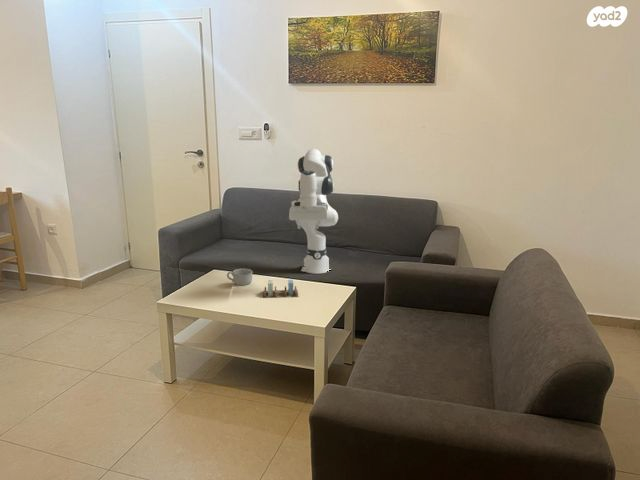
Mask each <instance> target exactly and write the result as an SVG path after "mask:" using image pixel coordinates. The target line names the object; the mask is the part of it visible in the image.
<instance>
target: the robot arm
mask: <svg viewBox="0 0 640 480" xmlns="http://www.w3.org/2000/svg"><path fill="white" fill-rule="evenodd" d="M333 168H334V159H333V158H332V156H331V155H329V154H328V155H327V154H326V155H325V154H324V155H322V153H321V151H320V150H319V149H317V148H310V149H309V150H307V152H306V153H305V155H304V156H302V157H299V159H298V161H297V169H298V172H299V173H300V178H299V180H298V192H300V194H299V199H295V200H292V201H291V206H290V208H289V213H288V219H289V221H295V223H296V225H297V229H299V230H301V228H302V229H303V230H304V233H305V234H306V241H307V248H306V256H305V257H304V258H303V265H304V266H305V267H303V266H302V268H301V270H300V272H303V273H304V272H305V273H308V274H325V273H328V272H330V271H329V270H331V269H332V268H331V269H329V267H330V264H329V262H330V259H329V258H330V257H328V256H327V247H326V243H327V241H326V240H327V239H326V238H327V236H326V235H325V234H324V233H323V232H321V231H319V230H318V229H319V227H332V226H335V225H336V224H337V223H338V221H339V213H338V212H337V210H336V209H335V208H333V207H332V206H331V205H330V204H329V202H328V199H327V196H330V195H331V194H332V193H333V192H334V188H335V183H334V180H333V178H332V176H331V172H332V171H333ZM327 271H328V272H327Z"/></svg>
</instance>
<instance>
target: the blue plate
mask: <svg viewBox="0 0 640 480" xmlns="http://www.w3.org/2000/svg"><path fill="white" fill-rule="evenodd" d="M287 290H288V294H289V295H293V290H294V280H293V279H288V280H287Z"/></svg>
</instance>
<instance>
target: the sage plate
mask: <svg viewBox="0 0 640 480" xmlns="http://www.w3.org/2000/svg"><path fill="white" fill-rule="evenodd" d="M273 283H274V281H273V280H267V291H268V296H273V290H274V284H273Z"/></svg>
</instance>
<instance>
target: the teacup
mask: <svg viewBox="0 0 640 480" xmlns="http://www.w3.org/2000/svg"><path fill="white" fill-rule="evenodd" d="M230 274H231V276H232V277H230ZM226 277H227V278H228V280H230V281H231V282H232V283H233V284H235V285H237V286H247V285H251V283H252V282H253V270H251V269H249V268H237V269H234V270H233V271H228V272H227V274H226Z"/></svg>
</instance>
